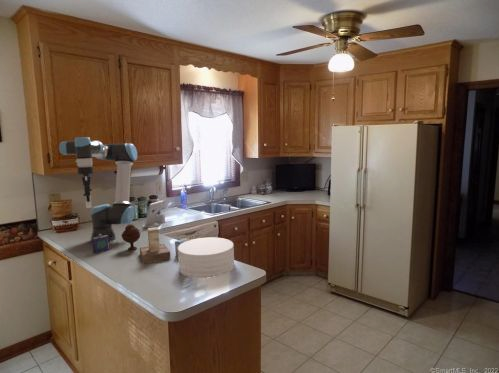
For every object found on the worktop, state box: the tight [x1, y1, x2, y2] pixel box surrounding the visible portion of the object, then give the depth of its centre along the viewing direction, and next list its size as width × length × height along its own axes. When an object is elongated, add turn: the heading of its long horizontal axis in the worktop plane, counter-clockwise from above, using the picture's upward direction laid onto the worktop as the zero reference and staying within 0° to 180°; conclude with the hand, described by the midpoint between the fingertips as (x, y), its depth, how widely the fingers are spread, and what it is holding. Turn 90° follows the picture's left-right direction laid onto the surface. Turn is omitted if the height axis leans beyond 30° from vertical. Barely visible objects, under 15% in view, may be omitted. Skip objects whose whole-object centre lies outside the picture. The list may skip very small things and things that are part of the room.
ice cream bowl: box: [121, 223, 141, 252], centre depth 205 cm, size 11×11×15 cm
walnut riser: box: [139, 243, 171, 264], centre depth 192 cm, size 16×14×4 cm
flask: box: [91, 234, 110, 254], centre depth 203 cm, size 9×3×11 cm, turn 138°
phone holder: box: [141, 200, 166, 229], centre depth 261 cm, size 17×10×18 cm, turn 154°
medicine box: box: [174, 237, 191, 258], centre depth 193 cm, size 8×4×9 cm, turn 141°
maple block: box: [147, 226, 160, 252], centre depth 191 cm, size 5×5×12 cm
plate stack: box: [178, 236, 235, 279], centre depth 175 cm, size 28×28×12 cm
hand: (88, 205), depth 186 cm, fingers open, 13 cm apart
